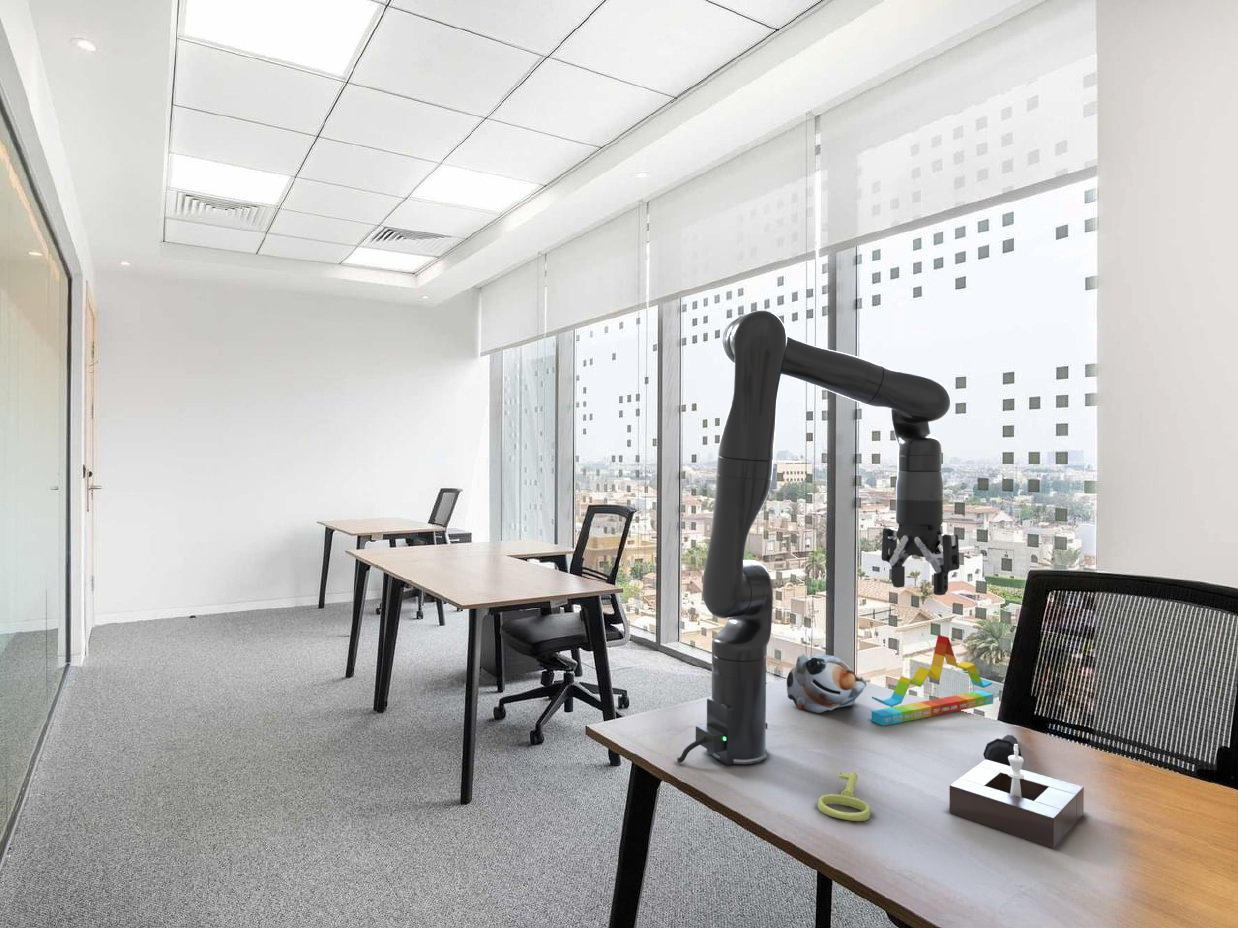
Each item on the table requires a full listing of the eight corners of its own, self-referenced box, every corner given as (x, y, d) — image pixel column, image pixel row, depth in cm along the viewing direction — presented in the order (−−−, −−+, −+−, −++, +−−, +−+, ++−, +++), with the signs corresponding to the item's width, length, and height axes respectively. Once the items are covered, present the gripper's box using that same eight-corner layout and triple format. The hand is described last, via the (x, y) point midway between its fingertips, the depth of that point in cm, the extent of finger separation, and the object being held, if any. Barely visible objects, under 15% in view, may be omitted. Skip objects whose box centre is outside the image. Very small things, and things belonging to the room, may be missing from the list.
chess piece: (998, 818, 105) (998, 748, 105) (995, 803, 110) (995, 735, 110) (1037, 824, 103) (1038, 753, 103) (1032, 809, 108) (1033, 740, 108)
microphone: (1001, 755, 135) (988, 781, 118) (991, 722, 136) (977, 744, 120) (1034, 752, 132) (1026, 778, 116) (1023, 718, 134) (1013, 739, 117)
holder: (1053, 848, 97) (1053, 818, 97) (949, 812, 107) (949, 785, 107) (1083, 814, 106) (1083, 786, 106) (985, 784, 116) (985, 758, 116)
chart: (883, 726, 141) (884, 647, 141) (871, 720, 144) (871, 643, 144) (994, 704, 154) (994, 632, 154) (981, 699, 157) (981, 628, 157)
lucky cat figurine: (860, 699, 157) (877, 649, 150) (848, 738, 147) (865, 688, 140) (791, 670, 162) (805, 622, 155) (775, 707, 153) (788, 657, 146)
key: (856, 784, 116) (856, 770, 116) (873, 823, 104) (873, 807, 104) (809, 781, 117) (809, 768, 117) (820, 820, 105) (820, 805, 105)
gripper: (970, 498, 124) (969, 595, 124) (900, 494, 136) (900, 582, 137) (939, 500, 120) (939, 599, 121) (871, 495, 133) (871, 586, 133)
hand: (918, 590), depth 129 cm, fingers open, 8 cm apart
